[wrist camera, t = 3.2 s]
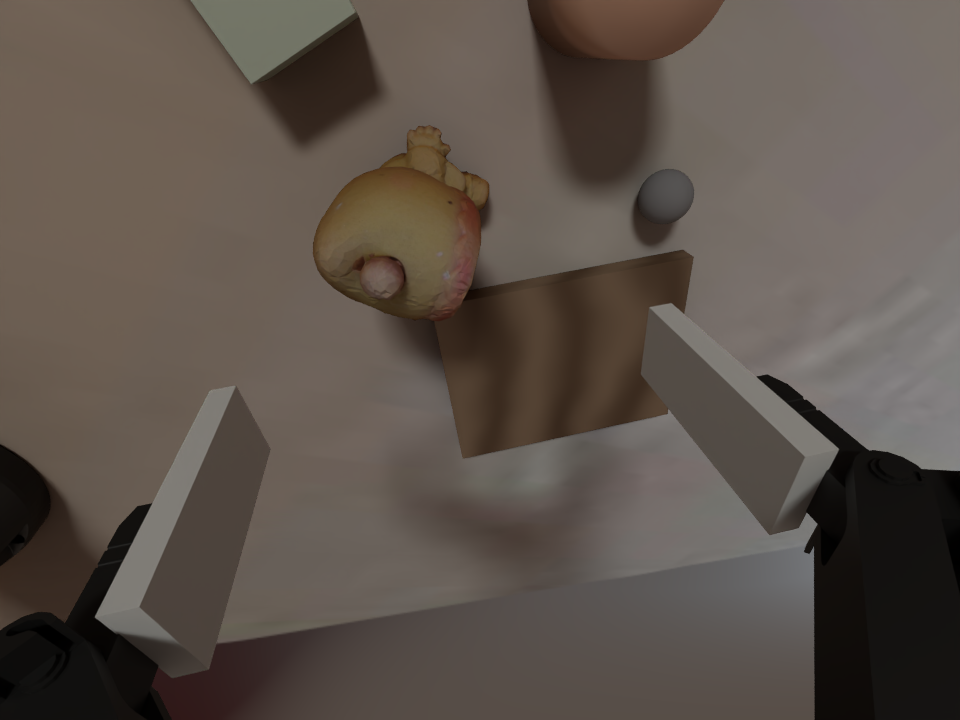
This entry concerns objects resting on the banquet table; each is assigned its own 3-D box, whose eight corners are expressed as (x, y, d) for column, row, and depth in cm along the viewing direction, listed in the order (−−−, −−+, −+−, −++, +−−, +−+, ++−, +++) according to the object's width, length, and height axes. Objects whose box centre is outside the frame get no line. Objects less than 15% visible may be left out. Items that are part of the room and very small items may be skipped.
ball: (627, 219, 33) (650, 235, 30) (631, 168, 31) (656, 180, 28) (673, 210, 33) (700, 225, 30) (679, 160, 31) (709, 171, 28)
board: (460, 446, 43) (462, 458, 42) (429, 298, 33) (431, 307, 32) (659, 403, 44) (667, 413, 43) (682, 249, 35) (693, 257, 34)
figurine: (458, 289, 33) (429, 406, 21) (361, 254, 32) (265, 354, 20) (508, 152, 29) (509, 192, 16) (395, 106, 28) (298, 109, 15)
